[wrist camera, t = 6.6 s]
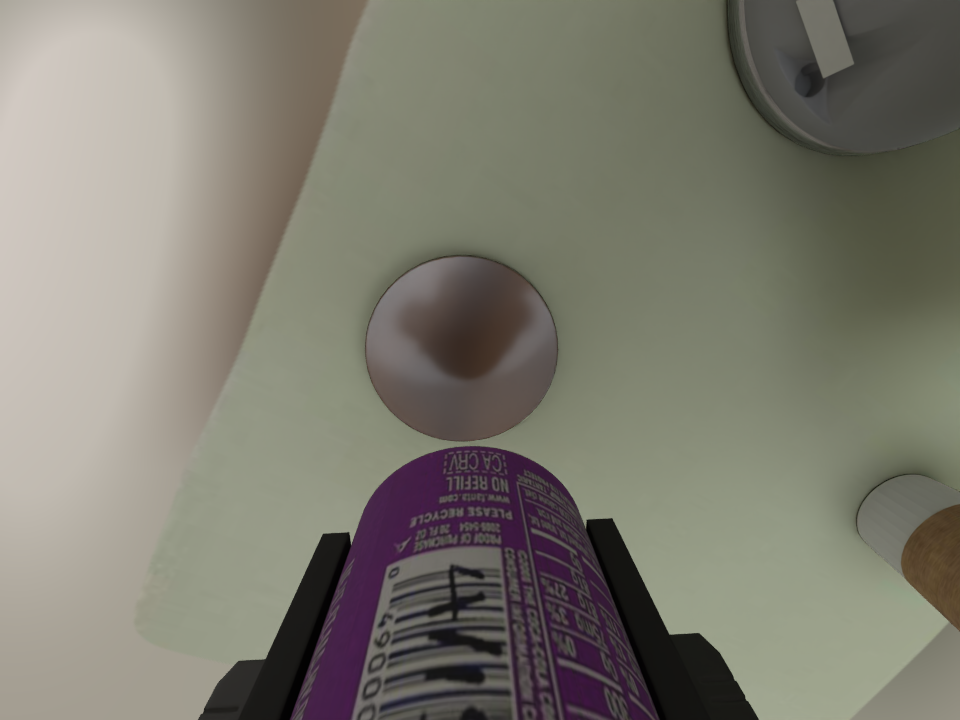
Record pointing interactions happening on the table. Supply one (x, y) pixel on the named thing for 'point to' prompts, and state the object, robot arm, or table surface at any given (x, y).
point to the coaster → (461, 348)
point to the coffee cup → (918, 536)
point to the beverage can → (473, 604)
